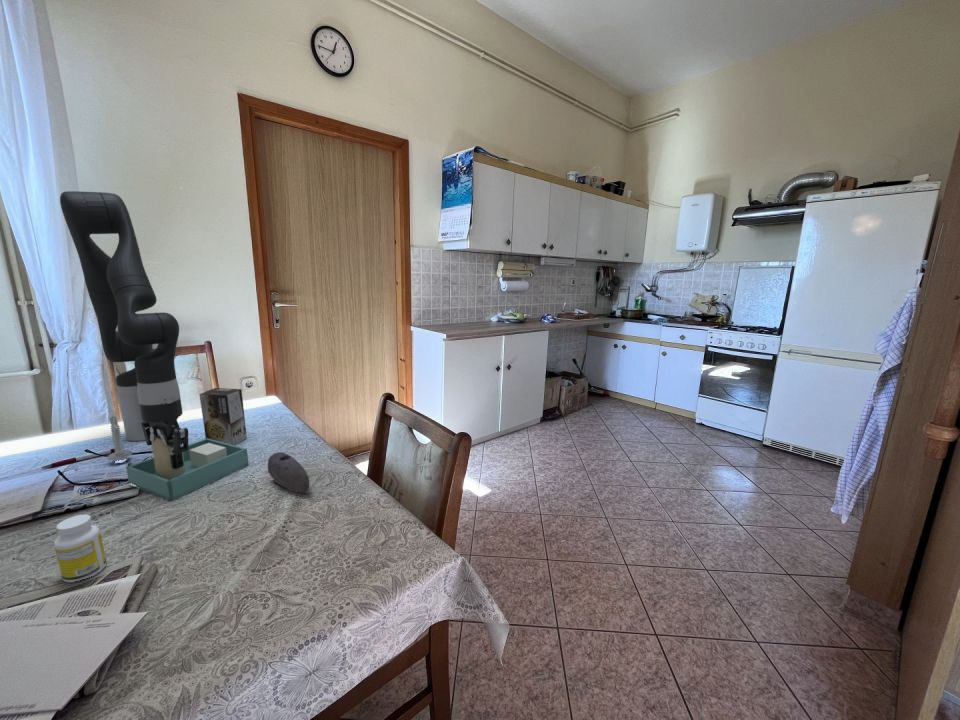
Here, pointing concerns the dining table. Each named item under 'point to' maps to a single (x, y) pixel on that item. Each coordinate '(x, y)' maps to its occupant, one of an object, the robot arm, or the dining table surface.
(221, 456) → the white box
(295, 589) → the dining table surface
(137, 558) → the dining table surface
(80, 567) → the supplement bottle
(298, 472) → the perforated stone tool
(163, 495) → the tote
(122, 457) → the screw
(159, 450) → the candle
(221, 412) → the coffee box
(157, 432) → the robot arm
